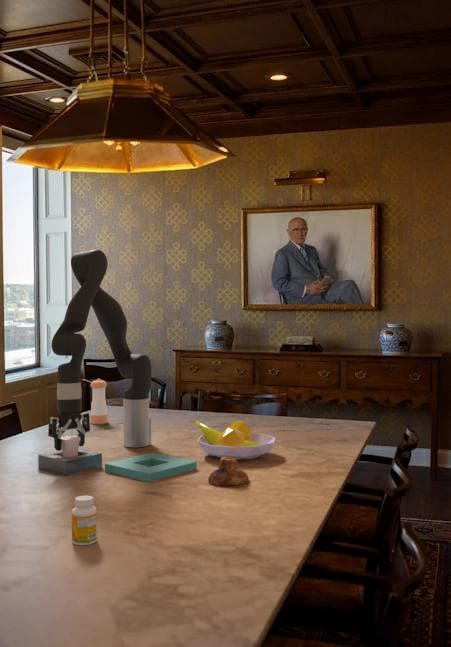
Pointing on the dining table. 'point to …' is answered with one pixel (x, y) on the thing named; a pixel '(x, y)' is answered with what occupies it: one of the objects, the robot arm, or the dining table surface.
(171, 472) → the low socket
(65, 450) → the smoothie
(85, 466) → the tall socket
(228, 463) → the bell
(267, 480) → the dining table surface
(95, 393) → the pepper shaker
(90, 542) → the supplement bottle
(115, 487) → the dining table surface
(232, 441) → the fruit bowl
